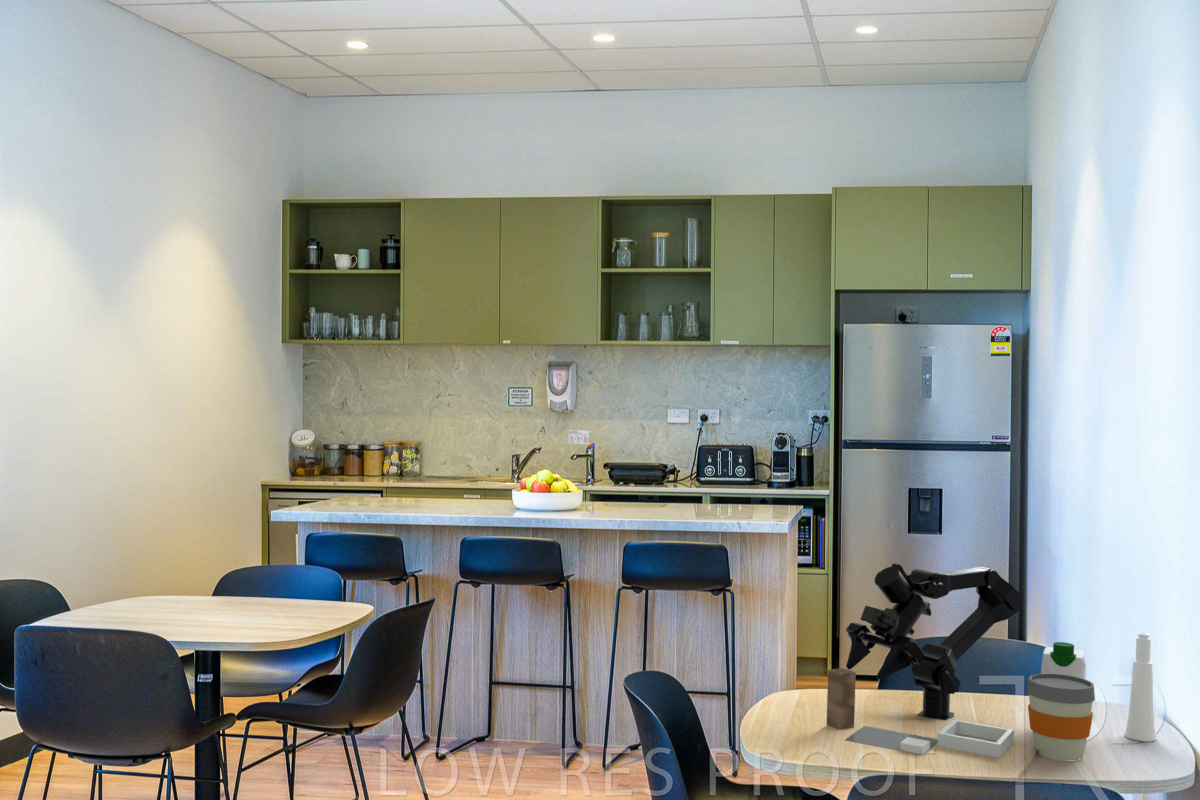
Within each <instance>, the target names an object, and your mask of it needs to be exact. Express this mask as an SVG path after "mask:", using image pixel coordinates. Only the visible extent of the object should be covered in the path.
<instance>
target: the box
mask: <svg viewBox="0 0 1200 800" xmlns="http://www.w3.org/2000/svg"><path fill="white" fill-rule="evenodd" d="M1014 733H1015V730H1014V729H1012V728H1006V727H1000V726H994V725H988V724H983V723H977V722H971V721H966V720H962V719H961V720H959V719H955V718H954V719H953V720H951V721H950V722H949V723H948V724H947V725H946V726H945V727H944V728H942V729H941V730H940V731H939V732H938V733H937V739H938V743H937V744H936V745H937V747H940V748H945V749H950V750H956V751H962V752H967V753H972V754H977V755H982V756H987V757H988V756H989V757H993V758H999V759H1000V758H1001V757H1003V755H1004V753H1005V752H1006V751H1008V749H1009V748H1010V747H1011V746H1013V744H1014V743H1015V742H1014V741H1015V740H1014V736H1015V735H1014ZM962 735H963V736H962ZM969 736H970V738H968V737H969ZM974 738H978V739H974ZM980 739H985V740H988V741H985V740H980ZM989 740H990V741H989ZM991 740H992V741H991ZM995 741H996V742H995Z"/></svg>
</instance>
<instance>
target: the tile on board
mask: <svg viewBox="0 0 1200 800" xmlns="http://www.w3.org/2000/svg"><path fill="white" fill-rule="evenodd" d="M929 749H930V741H926V740H921V739H915V738H910V737H907V738H906V739H904V740H903V741H902V742H901V743H900V750H901V751H900V752H903V751H906V752H905V753H908V752H912V753H911V754H913V753H917V754H916V755H918V754H922V755H921V756H924V755H923V754H925V753H926V752H927V751H928V750H929ZM927 753H928V752H927ZM927 753H926V754H927ZM926 754H925V755H926Z"/></svg>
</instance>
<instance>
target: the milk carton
mask: <svg viewBox="0 0 1200 800" xmlns="http://www.w3.org/2000/svg"><path fill="white" fill-rule="evenodd" d="M1052 644H1053V647H1050V646H1045V648H1044V649H1043V651H1042V652H1043V653H1042V658H1041V663H1040V665H1041V668H1040V669H1041V670H1040V674H1061V675H1068V676H1074V677H1078V678H1082V679H1085V680H1087V678H1086V677H1087V676H1086V675H1087V674H1086V672H1087V664H1086V663H1087V662H1086V657H1085V650H1078V649H1077V650H1076V649H1075V645H1074V644H1073V643H1069V642H1060V641H1058V642H1055V641H1054V643H1052Z"/></svg>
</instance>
